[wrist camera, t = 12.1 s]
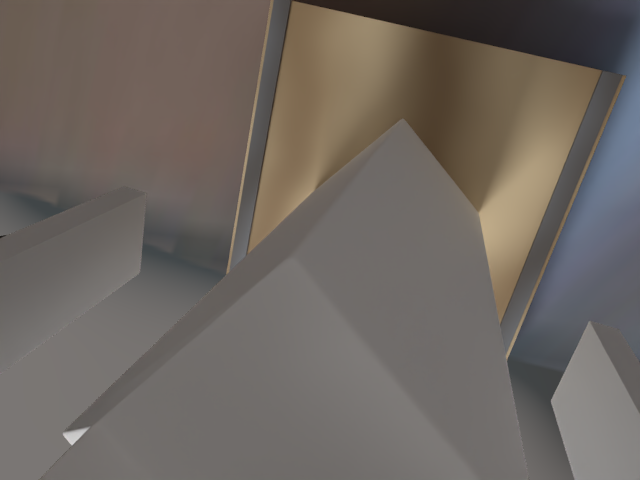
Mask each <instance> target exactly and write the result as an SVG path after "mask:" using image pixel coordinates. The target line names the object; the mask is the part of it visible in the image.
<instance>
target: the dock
mask: <svg viewBox="0 0 640 480" xmlns="http://www.w3.org/2000/svg"><path fill="white" fill-rule="evenodd" d="M625 78H626V76H624V75H621V74H616V73H612V72H607V71H602V70H597V69H593V68H589V67H584V66H580V65H575V64H571V63H566V62H562V61H558V60H553V59H549V58H544V57H540V56H535V55H531V54H527V53H522V52H518V51H513V50H509V49H504V48H500V47H496V46H491V45H487V44H482V43H478V42H473V41H469V40H464V39H460V38H456V37H451V36H447V35H442V34H438V33H433V32H429V31H425V30H420V29H416V28H411V27H407V26H402V25H398V24H394V23H389V22H385V21H380V20H376V19H371V18H367V17H363V16H358V15H354V14H349V13H345V12H340V11H336V10H332V9H327V8H323V7H318V6H314V5H309V4H305V3H300V2H296V1H292V0H271V3H270V9H269V16H268V22H267V28H266V34H265V40H264V46H263V52H262V59H261V65H260V71H259V77H258V83H257V89H256V96H255V102H254V108H253V114H252V120H251V126H250V132H249V139H248V145H247V151H246V157H245V163H244V169H243V175H242V182H241V188H240V194H239V200H238V206H237V212H236V218H235V225H234V231H233V237H232V243H231V249H230V255H229V262H228V268H227V274H228V273H229V272H230V271H231V270H232V269H233V268H234V267H235V266H236V265H237V264H238V263H239V262H240V261H241V260H242V259H244V258H245V257H246V256H247V255H248V254H249V253H250V252H251V251H252V250H253V249H254V248H255V247H256V246H257V245H258V244H259V243H260V242H261V241H262V240H263V239H264V238H265V237H266V236H267V235H268V234H270V233H271V232H272V231H273V230H274V229H275V228H276V227H277V226H278V225H279V224H280V223H281V222H282V221H283V220H284V219H285V218H286V217H287V216H288V215H289V214H290V213H291V212H292V211H293V210H294V209H296V208H297V207H298V206H299V205H300V204H301V203H302V202H303V201H304V200H305V199H306V198H307V197H308V196H309V195H310V194H311V193H312V192H313V191H314V190H316V189H317V188H318V187H319V186H321V185H322V184H323V183H324V182H325V181H327V180H328V179H329V178H330V177H331V176H333V175H334V174H335V173H336V172H338V171H339V170H340V169H341V168H342V167H344V166H345V165H346V164H347V163H348V162H350V161H351V160H352V159H353V158H355V157H356V156H357V155H358V154H359V153H361V152H362V151H363V150H364V149H365V148H367V147H368V146H369V145H370V144H372V143H373V142H374V141H375V140H376V139H378V138H379V137H380V136H381V135H382V134H384V133H385V132H386V131H387V130H388V129H390V128H391V127H392V126H393V125H395V124H396V123H397V122H398V121H399V120H401V119H405V121H406V122H407V123H408V124H409V126H410V127H411V128H412V129H413V131H414V132H415V133H416V134H417V136H418V137H419V138H420V139H421V141H422V142H423V143H424V144H425V146H426V147H427V148H428V149H429V151H430V152H431V153H432V155H433V156H434V157H435V158H436V160H437V161H438V162H439V163H440V165H441V166H442V167H443V168H444V170H445V171H446V172H447V173H448V175H449V176H450V177H451V178H452V180H453V181H454V182H455V184H456V185H457V186H458V187H459V189H460V190H461V191H462V192H463V194H464V195H465V196H466V197H467V199H468V200H469V201H470V202H471V204H472V205H473V206H474V208H475V209H476V210H477V211H478V213H479V217H480V222H481V228H482V233H483V238H484V244H485V249H486V254H487V259H488V265H489V270H490V275H491V281H492V286H493V291H494V297H495V302H496V307H497V312H498V318H499V323H500V328H501V334H502V339H503V344H504V350H505V355H506V360H507V359H508V356H509V354H510V351H511V349H512V347H513V344H514V342H515V340H516V337H517V335H518V332H519V330H520V328H521V325H522V323H523V320H524V318H525V316H526V313H527V311H528V309H529V306H530V304H531V301H532V299H533V297H534V294H535V292H536V290H537V287H538V285H539V282H540V280H541V278H542V275H543V273H544V271H545V268H546V266H547V263H548V261H549V259H550V256H551V254H552V251H553V249H554V247H555V244H556V242H557V240H558V237H559V235H560V232H561V230H562V228H563V225H564V223H565V221H566V218H567V216H568V213H569V211H570V209H571V206H572V204H573V202H574V199H575V197H576V194H577V192H578V190H579V187H580V185H581V182H582V180H583V178H584V175H585V173H586V171H587V168H588V166H589V163H590V161H591V159H592V156H593V154H594V152H595V149H596V147H597V144H598V142H599V140H600V137H601V135H602V133H603V130H604V128H605V125H606V123H607V121H608V118H609V116H610V113H611V111H612V109H613V106H614V104H615V102H616V99H617V97H618V94H619V92H620V90H621V87H622V85H623V83H624V80H625ZM227 274H226V275H227Z"/></svg>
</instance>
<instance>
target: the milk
mask: <svg viewBox="0 0 640 480" xmlns="http://www.w3.org/2000/svg"><path fill="white" fill-rule="evenodd" d="M63 435H64V437H65V438H66V439H67V440H68V442H69V443H70V444H71V445H72V446H71V447H70V448H69V449H68V450H67V451H66V452H65V453H64V454H63V455H62V456H61V457H60V458H59V459H58V460H57V461H56V463H55V464H54V465H53V466H52V467H51V468H50V469H49V470H48V471H47V472H46V473H45V474H44V475H43V476H42V477H41V478H40V479H39V480H529V477H528V471H527V466H526V461H525V456H524V450H523V445H522V440H521V434H520V429H519V424H518V418H517V413H516V408H515V403H514V398H513V392H512V387H511V381H510V376H509V371H508V365H507V360H506V355H505V350H504V344H503V339H502V334H501V328H500V323H499V318H498V312H497V307H496V302H495V297H494V291H493V286H492V281H491V275H490V270H489V265H488V259H487V254H486V249H485V244H484V238H483V233H482V228H481V222H480V217H479V213H478V211H477V210H476V209H475V208H474V206H473V205H472V204H471V202H470V201H469V200H468V199H467V197H466V196H465V195H464V194H463V192H462V191H461V190H460V189H459V187H458V186H457V185H456V184H455V182H454V181H453V180H452V178H451V177H450V176H449V175H448V173H447V172H446V171H445V170H444V168H443V167H442V166H441V165H440V163H439V162H438V161H437V160H436V158H435V157H434V156H433V155H432V153H431V152H430V151H429V149H428V148H427V147H426V146H425V144H424V143H423V142H422V141H421V139H420V138H419V137H418V136H417V134H416V133H415V132H414V131H413V129H412V128H411V127H410V126H409V124H408V123H407V122H406V121H405V119H401V120H399V121H398V122H397V123H396V124H395V125H393V126H392V127H391V128H390V129H388V130H387V131H386V132H385V133H384V134H382V135H381V136H380V137H379V138H378V139H376V140H375V141H374V142H373V143H372V144H370V145H369V146H368V147H367V148H365V149H364V150H363V151H362V152H361V153H359V154H358V155H357V156H356V157H355V158H353V159H352V160H351V161H350V162H348V163H347V164H346V165H345V166H344V167H342V168H341V169H340V170H339V171H338V172H336V173H335V174H334V175H333V176H331V177H330V178H329V179H328V180H327V181H325V182H324V183H323V184H322V185H321V186H319V187H318V188H317V189H316V190H314V191H313V192H312V193H311V194H310V195H309V196H308V197H307V198H306V199H305V200H304V201H303V202H302V203H301V204H300V205H299V206H298V207H297V208H296V209H294V210H293V211H292V212H291V213H290V214H289V215H288V216H287V217H286V218H285V219H284V220H283V221H282V222H281V223H280V224H279V225H278V226H277V227H276V228H275V229H274V230H273V231H272V232H271V233H270V234H268V235H267V236H266V237H265V238H264V239H263V240H262V241H261V242H260V243H259V244H258V245H257V246H256V247H255V248H254V249H253V250H252V251H251V252H250V253H249V254H248V255H247V256H246V257H245V258H244V259H242V260H241V261H240V262H239V263H238V264H237V265H236V266H235V267H234V268H233V269H232V270H231V271H230V272H229V273H228V274H227V275H226V276H225V277H224V278H223V279H222V280H221V281H220V282H219V283H218V284H216V285H215V286H214V287H213V288H212V289H211V290H210V292H208V293H207V294H206V295H205V296H204V297H203V298H202V299H201V300H200V301H199V302H198V303H197V304H196V305H195V306H194V307H193V308H191V309H190V311H188V312H187V313H186V314H185V316H183V317H182V318H181V319H180V320H179V321H178V322H177V323H176V324H175V325H174V326H173V327H172V328H171V329H170V330H169V331H168V332H167V333H165V334H164V335H163V336H162V337H161V338H160V339H159V340H158V341H157V342H156V343H155V344H154V345H153V346H152V347H151V348H150V349H149V350H148V351H147V352H146V353H145V354H144V355H143V356H142V357H141V358H139V360H138V361H136V362H135V363H134V364H133V365H132V366H131V367H130V368H129V369H128V370H127V371H126V372H125V373H124V374H123V375H122V376H121V377H120V378H119V379H118V380H117V381H116V382H115V383H113V384H112V385H111V386H110V387H109V388H108V389H107V390H106V391H105V392H104V393H103V394H102V395H101V396H100V397H99V398H98V399H97V400H96V401H95V402H94V403H93V404H92V405H91V406H90V407H89V408H88V409H87V410H85V411H84V412H83V413H82V414H81V415H80V416H79V417H78V418H77V419H76V420H75V421H74V422H73V423H72V424H71V425H70V426H69V427H68V428H67V429H66V430H65V431H64V432H63Z"/></svg>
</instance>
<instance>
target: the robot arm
mask: <svg viewBox="0 0 640 480" xmlns="http://www.w3.org/2000/svg"><path fill="white" fill-rule="evenodd" d="M146 195H147V193H145V192H142V191H138V190H135V189H131V188H128V187H124V186H123V187H121V188H119V189H116V190H114V191H112V192H109V193H107V194H104V195H102V196H100V197H97V198H95V199H92V200H90V201H88V202H85V203H83V204H80V205H78V206H76V207H73V208H71V209H69V210H66V211H64V212H61V213H59V214H57V215H54V216H52V217H49V218H47V219H45V220H42V221H40V222H38V223H35V224H33V225H30V226H28V227H26V228H23V229H21V230H19V231H16V232H14V233H11V234H9V235H4V236H0V374H1V373H2V372H4V371H5V370H6V369H8V368H9V367H11V366H12V365H13V364H15V363H16V362H18V361H19V360H20V359H22V358H23V357H24V356H26V355H27V354H29V353H30V352H31V351H33V350H34V349H35V348H37V347H38V346H39V345H41V344H42V343H44V342H45V341H47V340H48V339H49V338H51V337H52V336H53V335H55V334H56V333H58V332H59V331H60V330H62V329H63V328H64V327H66V326H67V325H69V324H70V323H71V322H73V321H74V320H75V319H77V318H78V317H80V316H81V315H82V314H84V313H85V312H87V311H88V310H89V309H91V308H92V307H93V306H95V305H96V304H98V303H99V302H100V301H102V300H103V299H104V298H106V297H107V296H109V295H110V294H111V293H113V292H114V291H115V290H117V289H118V288H119V287H121V286H122V285H124V284H125V283H126V282H128V281H129V280H131V279H132V278H133V277H135V276H136V275H138V274H139V273H140V264H141V254H142V242H143V230H144V219H145V207H146ZM551 403H552V407H553V410H554V413H555V416H556V419H557V423H558V426H559V429H560V433H561V436H562V439H563V442H564V446H565V449H566V452H567V456H568V459H569V462H570V466H571V469H572V472H573V475H574V479H575V480H640V362H639V361H638V359H637V358H636V356H635V354H634V353H633V351H632V350H631V348H630V346H629V345H628V343H627V342H626V340H625V338H624V337H623V335H622V334H621V332H620V331H619V329H616V328H612V327H609V326H605V325H602V324H599V323H595V322H592V321H589V323H588V325H587V327H586V329H585V331H584V333H583V335H582V337H581V340H580V342H579V344H578V346H577V348H576V350H575V352H574V354H573V356H572V358H571V360H570V362H569V364H568V366H567V369H566V371H565V373H564V375H563V377H562V379H561V381H560V383H559V385H558V387H557V389H556V391H555V393H554V396H553V398H552V400H551Z"/></svg>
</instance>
